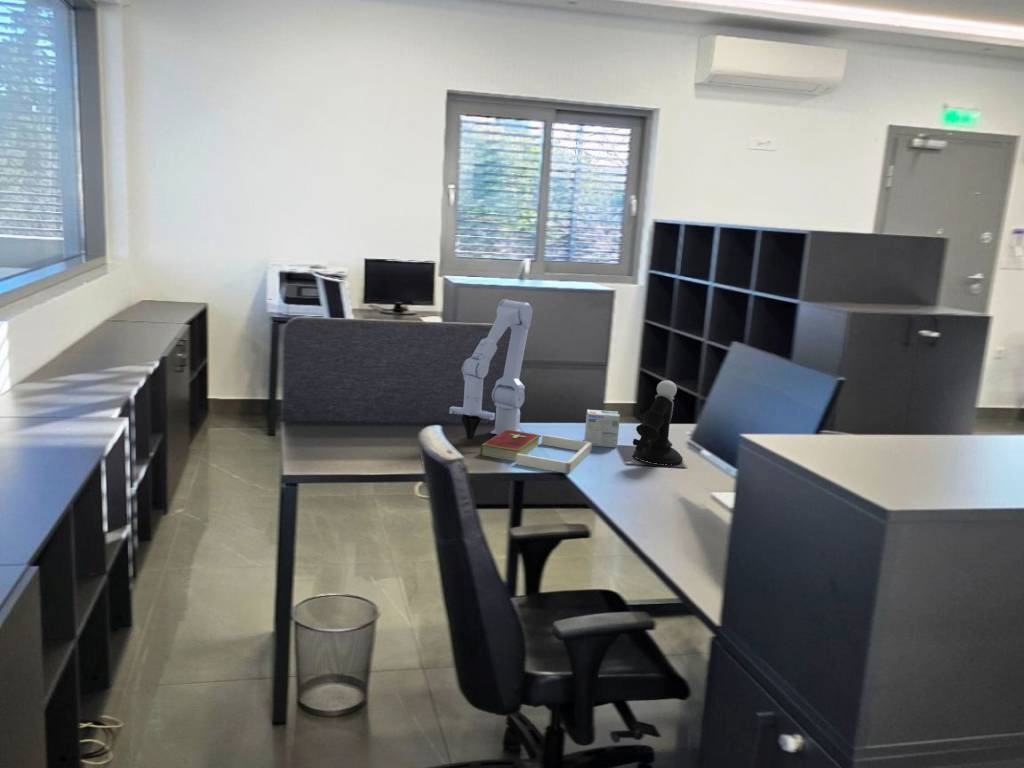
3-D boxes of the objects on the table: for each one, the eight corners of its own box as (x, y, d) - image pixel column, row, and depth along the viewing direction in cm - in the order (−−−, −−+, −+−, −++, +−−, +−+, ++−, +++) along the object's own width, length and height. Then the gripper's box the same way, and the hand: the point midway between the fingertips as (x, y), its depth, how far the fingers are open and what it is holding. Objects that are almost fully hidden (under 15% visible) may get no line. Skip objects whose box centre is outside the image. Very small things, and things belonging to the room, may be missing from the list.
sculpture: (689, 459, 272) (699, 382, 267) (659, 475, 252) (669, 392, 247) (645, 448, 280) (653, 373, 275) (613, 463, 260) (621, 383, 255)
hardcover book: (480, 456, 258) (481, 443, 257) (504, 440, 278) (505, 428, 277) (517, 463, 254) (518, 449, 253) (539, 447, 274) (540, 434, 273)
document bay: (542, 443, 276) (543, 434, 276) (591, 451, 271) (592, 442, 271) (516, 464, 252) (516, 454, 251) (569, 473, 247) (570, 463, 246)
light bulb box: (615, 442, 284) (618, 411, 282) (617, 448, 278) (620, 415, 276) (583, 440, 285) (586, 408, 282) (584, 445, 278) (587, 413, 276)
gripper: (446, 395, 266) (443, 437, 268) (490, 402, 261) (487, 445, 264) (455, 391, 272) (452, 432, 275) (498, 398, 268) (495, 440, 270)
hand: (470, 438), depth 270 cm, fingers closed
